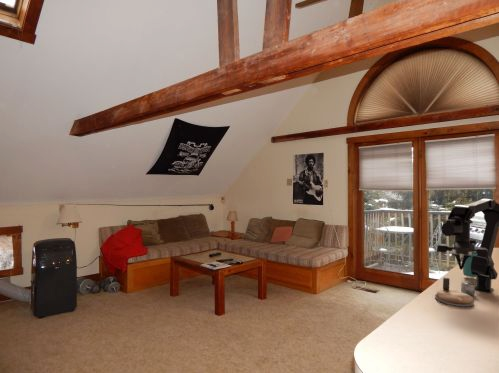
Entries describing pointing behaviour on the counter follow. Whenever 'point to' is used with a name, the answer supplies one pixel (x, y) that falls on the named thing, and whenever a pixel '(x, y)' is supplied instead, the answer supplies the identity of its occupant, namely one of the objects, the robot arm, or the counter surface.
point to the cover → (468, 288)
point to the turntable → (453, 294)
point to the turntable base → (454, 303)
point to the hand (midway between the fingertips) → (461, 269)
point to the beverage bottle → (469, 263)
